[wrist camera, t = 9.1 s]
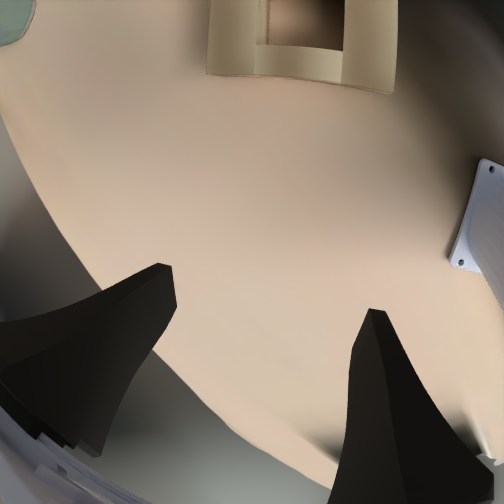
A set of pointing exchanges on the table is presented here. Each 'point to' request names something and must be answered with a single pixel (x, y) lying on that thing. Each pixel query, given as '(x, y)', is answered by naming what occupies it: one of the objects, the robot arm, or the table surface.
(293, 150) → the table surface
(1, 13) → the disposable coffee cup
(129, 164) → the table surface
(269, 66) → the socket block
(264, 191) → the table surface
